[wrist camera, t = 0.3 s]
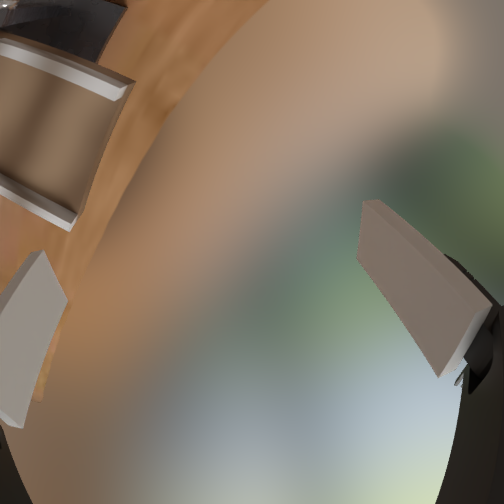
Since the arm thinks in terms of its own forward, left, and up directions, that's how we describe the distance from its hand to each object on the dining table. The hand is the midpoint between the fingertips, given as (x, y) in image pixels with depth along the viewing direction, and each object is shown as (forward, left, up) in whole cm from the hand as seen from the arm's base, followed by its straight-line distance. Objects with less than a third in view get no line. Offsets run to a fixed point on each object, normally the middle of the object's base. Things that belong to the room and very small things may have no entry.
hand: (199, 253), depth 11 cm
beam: (+3, -18, -15) cm, 24 cm away
